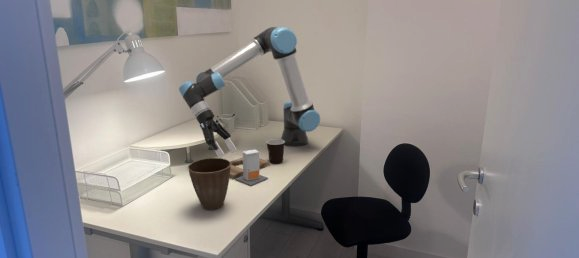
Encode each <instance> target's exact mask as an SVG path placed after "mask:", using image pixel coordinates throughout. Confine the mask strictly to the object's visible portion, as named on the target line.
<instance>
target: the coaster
mask: <svg viewBox="0 0 579 258" xmlns="http://www.w3.org/2000/svg"><path fill="white" fill-rule="evenodd" d="M259 175H260V178H258V179H252V180H248V181H247V180H246V179H245V178H244V177H243V176H241V177H238V178H236V179H234V181H236V182H239V183H242V184H244V185H247V186H249V187H252V186H256V185H257V184H260V183H262V182H265V181H268V180H269V177H267V176H264V175H262V174H259Z"/></svg>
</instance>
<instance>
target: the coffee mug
mask: <svg viewBox="0 0 579 258" xmlns="http://www.w3.org/2000/svg"><path fill="white" fill-rule="evenodd" d="M284 144H285V141H284V140H281V138H280V139H279V138H274V139H273V138H272V139H269V140H267V141H266V147H267V148H266V149H267V153H268V161H270V164H272V165H279V164H282V163H283V161H284V151H285V145H284Z"/></svg>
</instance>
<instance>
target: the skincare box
mask: <svg viewBox="0 0 579 258" xmlns="http://www.w3.org/2000/svg"><path fill="white" fill-rule="evenodd" d="M242 157H243V165H242V169H243V177H244V178H245V179H246V180H247V181H248V180H252V179H258V178H260V175H261V174H260V169H259V158H260V152H259V151H258V150H257V149H250V150H249V149H248V150H243V151H242Z"/></svg>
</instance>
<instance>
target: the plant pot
mask: <svg viewBox="0 0 579 258" xmlns="http://www.w3.org/2000/svg"><path fill="white" fill-rule="evenodd" d="M230 162H231V160H228V159H227V158H221V157H209V158H202V159H198V160H196V161H193V162H191V163H189V164H188V166H187V168H188V173H189V177H190V181H191V184H192V186H193V189H194V191H195V194H196V197H197V199H198V201H199V203H200V205H201V207H202V208H203V209H204V210H206V211H207V210H208V211H215V210H219V209H220V208H222V207H223V206H224V203H225V200H226V197H227V192H228V189H229V183H230V179H231V178H230V167H231V163H230Z"/></svg>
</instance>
